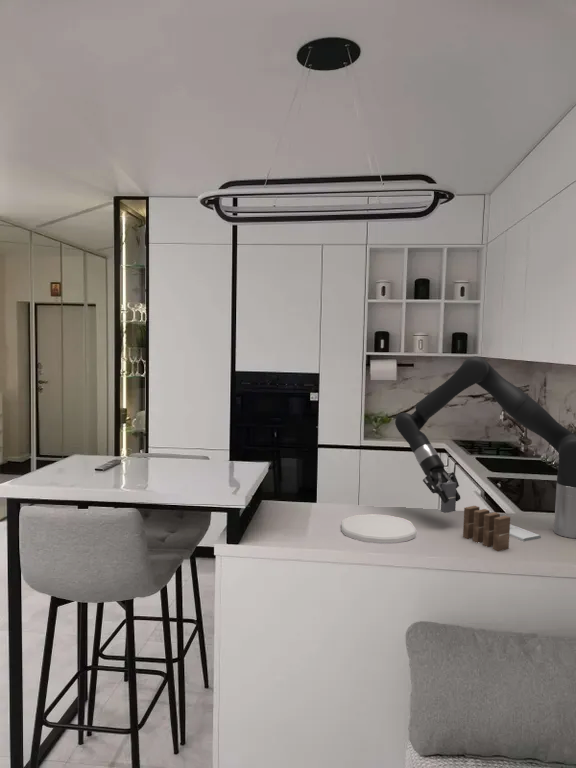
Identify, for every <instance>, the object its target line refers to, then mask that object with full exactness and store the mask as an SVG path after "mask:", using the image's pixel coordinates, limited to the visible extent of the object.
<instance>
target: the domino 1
mask: <svg viewBox="0 0 576 768" xmlns="http://www.w3.org/2000/svg"><path fill="white" fill-rule="evenodd" d="M456 485H457V483H455V482H446V483H442V488H443V491H444V492H445V494H446V495H447V497H448V498H449V501H448V502H447V503H444V502H443V501H442V500H440V513H443V514H448V513H452V512H456V504H457V503H456V502H457V501H456V490H457V488H456Z"/></svg>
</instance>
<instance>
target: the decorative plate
mask: <svg viewBox="0 0 576 768" xmlns="http://www.w3.org/2000/svg"><path fill="white" fill-rule="evenodd" d="M341 533H344V534H345V535H346V536H345V535H344V534H343V535H344V536H345V537H348V538H351V539H353V538H354V540H356V539H357V541H360V540H361V542H364V541H368V542H367V543H372V542H379V543H378V544H382V543H385V544H398V542H400V543H404V542H408V541H410V540H413V539H415V538H416V537H417V528H416V527H415V526H414V524H413V523H412V522H411V521H410V520H407V519H406V518H403V517H398V516H393V515H388V514H378V513H370V514H356V515H352V516H348V517H346V518H344V519H342V520H341Z"/></svg>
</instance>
